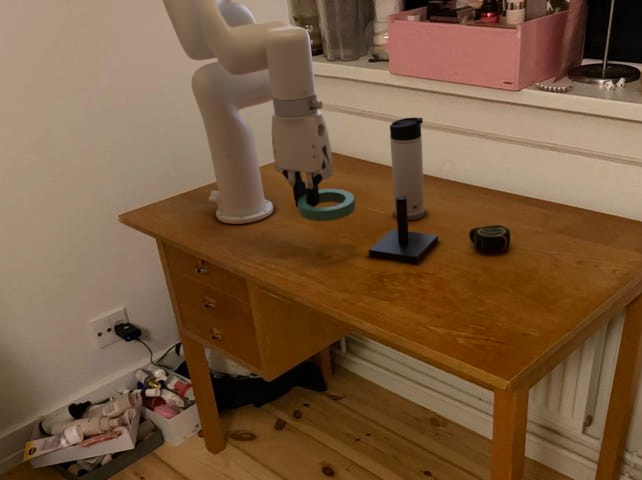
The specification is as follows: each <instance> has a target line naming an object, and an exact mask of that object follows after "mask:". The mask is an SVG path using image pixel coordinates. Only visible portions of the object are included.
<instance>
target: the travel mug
mask: <svg viewBox="0 0 642 480" xmlns="http://www.w3.org/2000/svg"><path fill="white" fill-rule="evenodd" d="M423 123H424V121H423V117H405V118H401V119H397V120H395V121H393V122H391V124H390V125H389V134H390V137H389V138H390V140H389V141H390V155H391V156H390V158H391V170H392V173H391V175H392V188H393V201H394V202H393V203H394V216H395V217H396V218H397V211H396V197H398V196H406V197H407V215H408V221H415V220H419V219H421V218H423V217H424V216H425V189H424V165H423V163H424V162H423V141H422V136H423V135H422V125H421V124H423Z"/></svg>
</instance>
